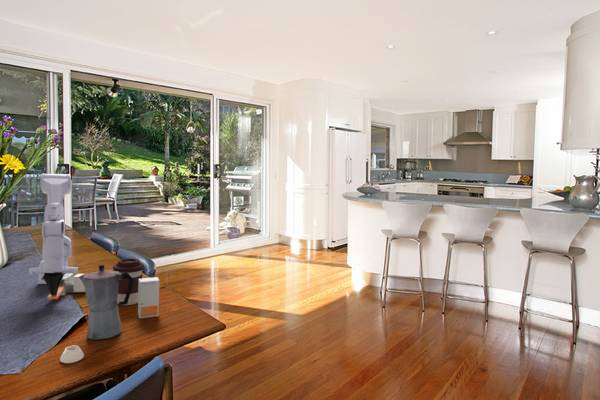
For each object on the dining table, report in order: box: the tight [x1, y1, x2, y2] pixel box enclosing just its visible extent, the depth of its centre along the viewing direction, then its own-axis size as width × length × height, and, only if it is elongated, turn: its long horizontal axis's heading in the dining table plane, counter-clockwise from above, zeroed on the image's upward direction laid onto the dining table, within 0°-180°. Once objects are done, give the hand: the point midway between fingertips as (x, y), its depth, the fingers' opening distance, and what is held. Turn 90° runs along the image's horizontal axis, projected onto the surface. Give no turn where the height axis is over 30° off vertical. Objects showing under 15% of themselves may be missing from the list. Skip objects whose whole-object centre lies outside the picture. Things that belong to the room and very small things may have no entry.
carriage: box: [74, 273, 85, 292], centre depth 144 cm, size 4×4×6 cm
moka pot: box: [78, 264, 134, 341], centre depth 109 cm, size 10×15×20 cm, turn 95°
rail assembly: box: [60, 273, 86, 295], centre depth 144 cm, size 18×8×6 cm, turn 101°
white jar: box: [59, 344, 85, 364], centre depth 95 cm, size 5×3×5 cm
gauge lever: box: [47, 285, 66, 300], centre depth 135 cm, size 3×8×1 cm, turn 11°
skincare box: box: [137, 276, 160, 319], centre depth 124 cm, size 6×4×12 cm
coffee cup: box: [112, 257, 145, 306], centre depth 135 cm, size 10×10×15 cm
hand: (54, 294), depth 132 cm, fingers closed
